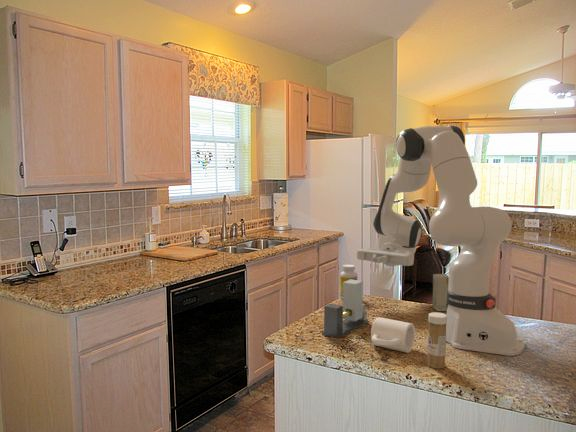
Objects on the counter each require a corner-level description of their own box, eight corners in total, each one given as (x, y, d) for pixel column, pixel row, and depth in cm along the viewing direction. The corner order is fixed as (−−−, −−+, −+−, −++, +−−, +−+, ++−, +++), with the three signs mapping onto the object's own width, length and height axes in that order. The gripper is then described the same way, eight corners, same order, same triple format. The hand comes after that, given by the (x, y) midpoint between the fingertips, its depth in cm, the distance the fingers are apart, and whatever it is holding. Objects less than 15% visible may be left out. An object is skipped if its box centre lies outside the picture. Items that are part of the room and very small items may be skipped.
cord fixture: (367, 321, 158) (368, 294, 157) (339, 338, 142) (339, 309, 142) (351, 318, 161) (351, 292, 161) (321, 334, 146) (322, 305, 145)
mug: (382, 340, 141) (382, 314, 140) (415, 347, 135) (415, 320, 135) (363, 353, 131) (364, 324, 131) (398, 361, 126) (398, 332, 125)
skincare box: (449, 311, 169) (450, 277, 168) (437, 311, 169) (438, 277, 168) (444, 306, 175) (445, 273, 174) (432, 306, 175) (432, 273, 174)
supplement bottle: (356, 300, 183) (356, 267, 182) (339, 300, 184) (339, 267, 183) (357, 296, 189) (357, 264, 188) (340, 295, 191) (341, 263, 189)
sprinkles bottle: (423, 363, 124) (424, 312, 123) (437, 360, 126) (439, 310, 124) (435, 370, 120) (436, 318, 118) (449, 367, 122) (451, 315, 120)
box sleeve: (362, 317, 156) (362, 281, 155) (355, 321, 152) (355, 284, 151) (350, 314, 159) (350, 279, 158) (342, 318, 155) (343, 282, 153)
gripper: (366, 242, 184) (349, 247, 173) (418, 248, 173) (403, 254, 161) (366, 258, 185) (348, 265, 174) (417, 265, 173) (402, 272, 162)
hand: (375, 260), depth 168 cm, fingers closed
